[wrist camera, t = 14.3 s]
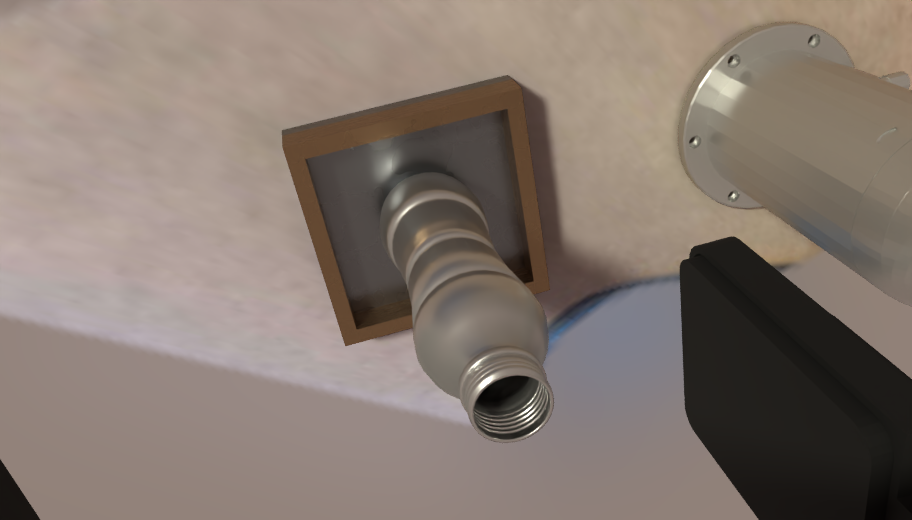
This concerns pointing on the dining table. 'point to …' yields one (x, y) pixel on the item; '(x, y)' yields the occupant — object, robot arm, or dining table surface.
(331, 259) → the collar base
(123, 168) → the dining table surface
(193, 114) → the dining table surface
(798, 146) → the robot arm
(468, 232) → the plastic bottle
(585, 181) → the dining table surface
